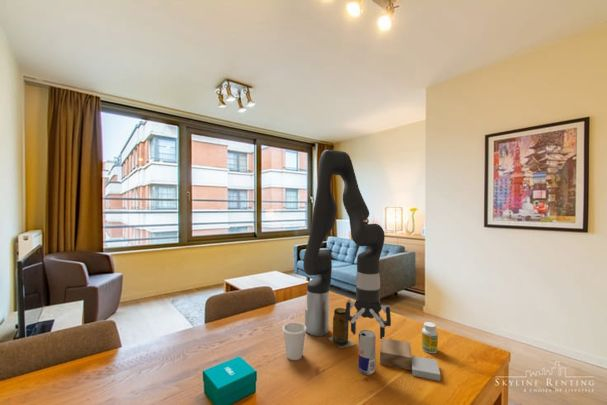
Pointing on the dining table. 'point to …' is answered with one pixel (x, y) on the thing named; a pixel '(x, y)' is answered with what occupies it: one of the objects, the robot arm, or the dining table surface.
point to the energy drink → (366, 352)
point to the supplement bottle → (429, 338)
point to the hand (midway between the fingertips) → (367, 335)
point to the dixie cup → (294, 340)
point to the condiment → (340, 329)
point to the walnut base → (396, 353)
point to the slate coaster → (425, 368)
